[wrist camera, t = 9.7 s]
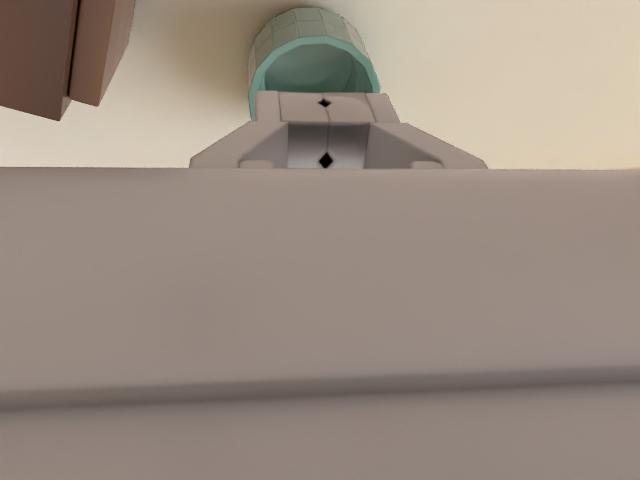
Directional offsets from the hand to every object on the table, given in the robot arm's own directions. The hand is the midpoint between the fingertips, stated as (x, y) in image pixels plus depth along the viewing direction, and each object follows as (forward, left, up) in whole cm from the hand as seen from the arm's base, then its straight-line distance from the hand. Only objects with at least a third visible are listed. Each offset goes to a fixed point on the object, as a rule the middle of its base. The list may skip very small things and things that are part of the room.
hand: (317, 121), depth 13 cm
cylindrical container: (-3, +5, -18) cm, 19 cm away
